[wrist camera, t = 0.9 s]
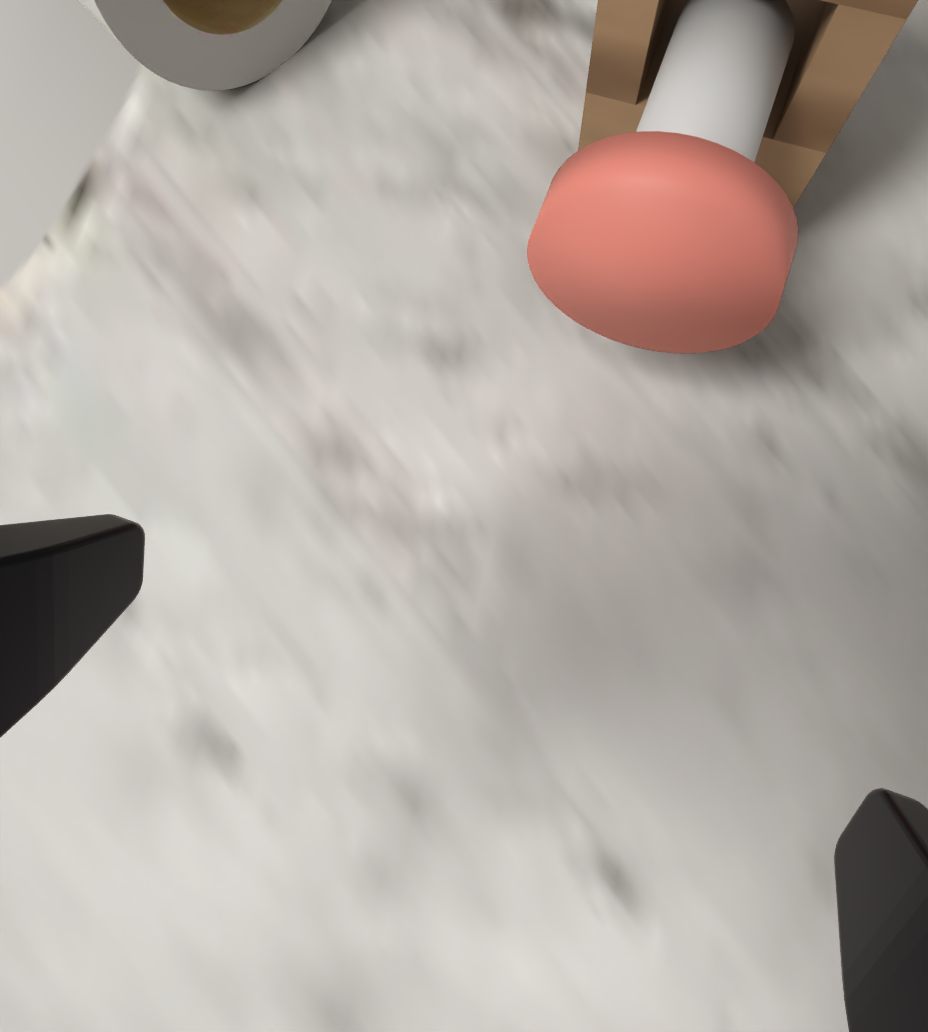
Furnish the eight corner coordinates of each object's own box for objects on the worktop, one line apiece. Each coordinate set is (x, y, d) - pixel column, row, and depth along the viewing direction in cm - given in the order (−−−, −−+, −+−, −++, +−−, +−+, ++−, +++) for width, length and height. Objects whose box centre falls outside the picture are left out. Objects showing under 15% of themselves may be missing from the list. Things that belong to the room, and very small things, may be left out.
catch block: (766, 255, 24) (971, -85, 13) (569, 201, 25) (616, -156, 14) (811, 111, 25) (1031, -306, 14) (622, 65, 26) (701, -357, 15)
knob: (731, 376, 19) (830, 239, 13) (524, 313, 20) (531, 159, 14) (800, 151, 21) (917, -59, 15) (606, 102, 21) (642, -116, 16)
